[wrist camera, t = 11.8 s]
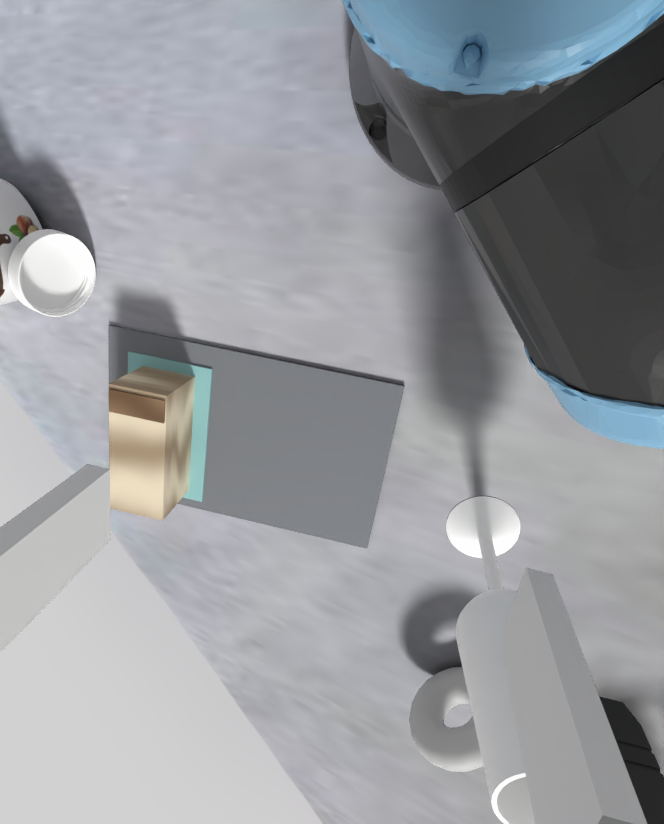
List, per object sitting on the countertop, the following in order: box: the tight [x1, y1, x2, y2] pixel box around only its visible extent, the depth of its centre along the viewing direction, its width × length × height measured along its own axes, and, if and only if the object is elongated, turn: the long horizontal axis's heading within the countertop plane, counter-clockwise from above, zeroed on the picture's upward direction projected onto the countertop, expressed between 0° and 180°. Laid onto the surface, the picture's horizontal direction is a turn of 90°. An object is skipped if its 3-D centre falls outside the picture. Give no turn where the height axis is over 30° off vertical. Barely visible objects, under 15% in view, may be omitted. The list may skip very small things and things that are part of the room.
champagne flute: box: [446, 496, 535, 824], centre depth 35 cm, size 7×7×24 cm
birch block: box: [109, 366, 195, 521], centre depth 45 cm, size 12×5×6 cm, turn 171°
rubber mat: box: [109, 325, 404, 548], centre depth 47 cm, size 17×27×1 cm, turn 81°
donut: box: [409, 667, 483, 772], centre depth 48 cm, size 10×4×10 cm, turn 116°
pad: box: [128, 351, 213, 502], centre depth 48 cm, size 14×8×1 cm, turn 171°
